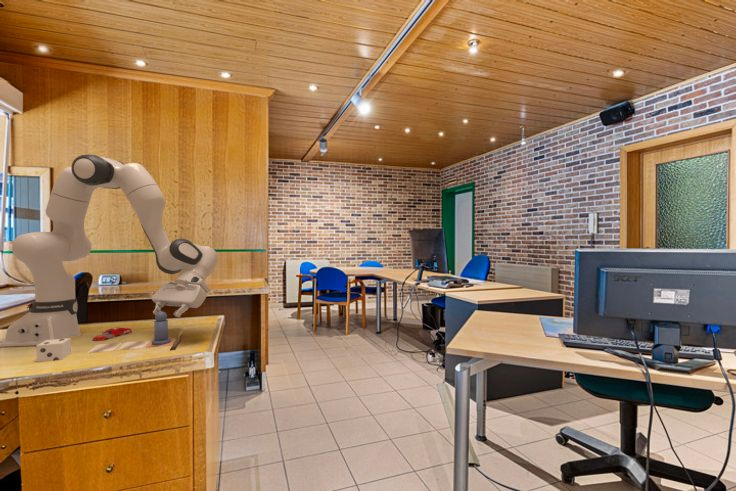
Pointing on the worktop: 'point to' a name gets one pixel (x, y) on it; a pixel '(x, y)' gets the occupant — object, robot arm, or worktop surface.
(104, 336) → the race car
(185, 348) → the worktop surface
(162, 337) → the pawn
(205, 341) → the worktop surface
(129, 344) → the board
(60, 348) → the die
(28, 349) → the worktop surface
